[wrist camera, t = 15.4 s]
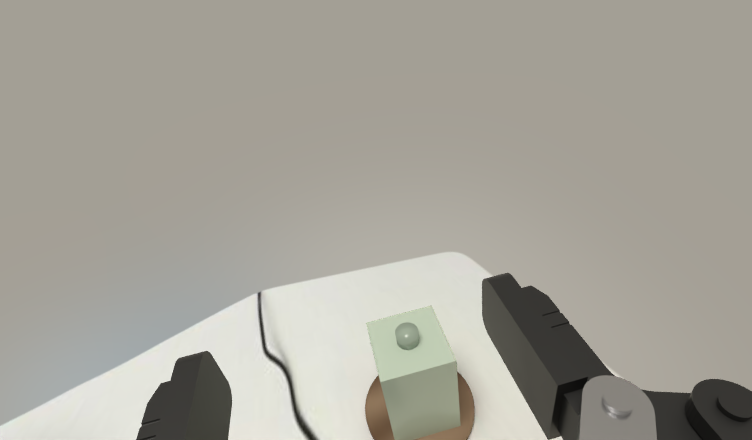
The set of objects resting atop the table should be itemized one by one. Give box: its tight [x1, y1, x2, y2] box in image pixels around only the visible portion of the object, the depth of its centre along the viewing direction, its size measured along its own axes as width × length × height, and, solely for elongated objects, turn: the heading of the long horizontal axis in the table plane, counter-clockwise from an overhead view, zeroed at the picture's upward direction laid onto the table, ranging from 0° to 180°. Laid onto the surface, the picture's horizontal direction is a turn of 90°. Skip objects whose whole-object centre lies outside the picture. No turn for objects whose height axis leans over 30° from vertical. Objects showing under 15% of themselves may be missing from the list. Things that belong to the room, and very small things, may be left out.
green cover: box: [366, 306, 461, 440], centre depth 37 cm, size 6×6×11 cm
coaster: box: [365, 372, 474, 440], centre depth 40 cm, size 11×11×1 cm
